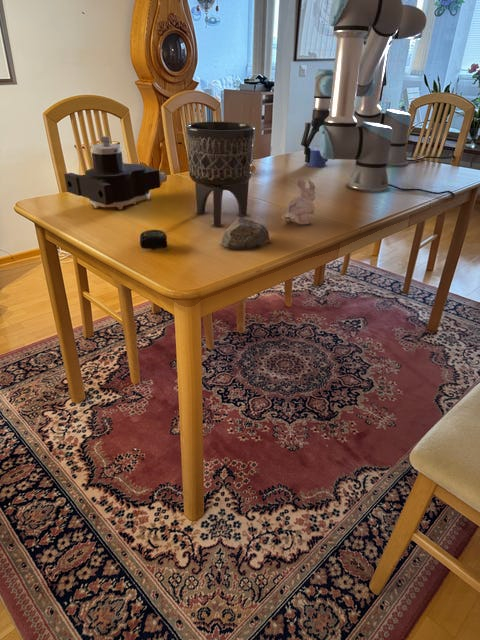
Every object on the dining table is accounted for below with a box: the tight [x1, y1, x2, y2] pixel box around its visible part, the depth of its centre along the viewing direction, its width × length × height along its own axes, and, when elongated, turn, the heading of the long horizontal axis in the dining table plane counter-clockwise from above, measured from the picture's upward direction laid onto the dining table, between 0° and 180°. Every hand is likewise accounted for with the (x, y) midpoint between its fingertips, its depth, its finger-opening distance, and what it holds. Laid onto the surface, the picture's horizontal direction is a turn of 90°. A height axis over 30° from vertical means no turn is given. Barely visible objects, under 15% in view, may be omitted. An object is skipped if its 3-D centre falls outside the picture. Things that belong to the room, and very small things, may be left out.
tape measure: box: [139, 229, 168, 250], centre depth 117 cm, size 7×7×4 cm
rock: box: [221, 216, 270, 250], centre depth 119 cm, size 13×9×6 cm, turn 131°
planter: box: [185, 121, 256, 227], centre depth 134 cm, size 20×20×26 cm
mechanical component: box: [63, 135, 168, 210], centre depth 149 cm, size 22×21×30 cm
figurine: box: [281, 177, 316, 225], centre depth 135 cm, size 8×15×13 cm, turn 145°
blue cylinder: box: [305, 147, 327, 168], centre depth 211 cm, size 9×9×7 cm
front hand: (316, 161), depth 212 cm, fingers closed on blue cylinder, 9 cm apart
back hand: (372, 99), depth 240 cm, fingers open, 13 cm apart
